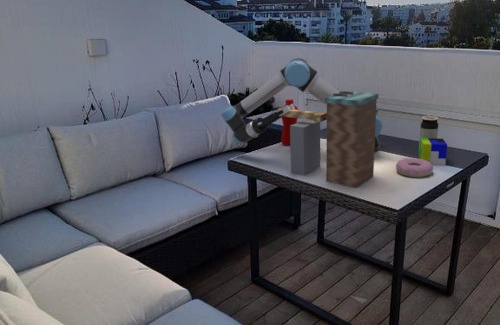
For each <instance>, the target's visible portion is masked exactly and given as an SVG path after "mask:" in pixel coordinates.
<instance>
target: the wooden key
mask: <svg viewBox="0 0 500 325" xmlns="http://www.w3.org/2000/svg"><path fill="white" fill-rule="evenodd" d="M282 108H283V107H279V108H276V112H277V111H278V110H280V109H282ZM282 116H285V117H292V118H297V119H302V120H307V119H308V120H314V122H320V123H322V122H324V121H327V111H320V112H317V111H310V110H301V109H298V110H294V109H290V111H289V112H287V113H285V114H284V115H282Z"/></svg>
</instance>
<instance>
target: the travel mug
mask: <svg viewBox="0 0 500 325" xmlns="http://www.w3.org/2000/svg"><path fill="white" fill-rule="evenodd" d="M421 119H422V121H421V123H420V128H419V129H420V130H419V139H420V138H438V136H439V135H438V132H439V123H438V120H439V117H437V116H433V115H424V116H421ZM418 144H419V145H418V148H419V147H420V140H419V143H418Z"/></svg>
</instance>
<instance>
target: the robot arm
mask: <svg viewBox="0 0 500 325" xmlns="http://www.w3.org/2000/svg"><path fill="white" fill-rule="evenodd" d="M287 87H293V88H296V89H298V90H299V91H301V93H306V92H307V93H309V94H310V95H312V96H313V97H315V98H316V99H317V100H319V101H320V102H322V103H323V104H324V105H326V106H327V103H325V98H326V97H329V96H332V95H333V93H339V91H340V90H337V89H336V88H335V87H334V86H332V85H331V84H330V83H328V82H327V81H326V80H324V79H322V78H321V77H320V76H319V72H318V71H317V70H316V69H314V67H311V66H310V65H309V63H308V61H307V60H305V59H303V58H300V57H299V58H294V59H292V60H290V61H289V63H288V64H286V65H285V66H284V67H283V68H281V70H279V73H278V74H277V75H275V76H274V77H273V78H272V79H270V80H268V81H267V82H266V83H265V84H263V85H262V86H260V87H259V88H257V89H256V90H255V91H254V92H252V93H250V94H249V95H248V96H246V97H245V98H244V99H242V100H241V101H240V102H238V103H236V104H235V105H230V106H228V107H227V108H226V109H224V110H223V111H222V112H221V113H220V116H221V117H222V118H223V120H224V122H226V124H227V125H228V127H229V128H230V130H231V131H232V140H233V141H234V143H236V144H238V145H242V144H245V143H247V142H249V141H251V140H253V139H254V138H258V137H259V135H260V134H263V133H264V132H266V131H267V130H268V126H270V125H272V124H273V123H275V122H277V121H278V120H280V119H282V117H283V116H282V115H284V114H285V113H287V112H289V111H290V109H295V108H294V106H293V105H294V103H293V104H291V105H289V106H288V105H287V106H285V105H284V106H285V107H284V106H283V107H284V108H283V107H281V108H282V109H280V110H278V111H277V110H276V111H274V112H273V113H272V112H271V114H269V115H267V116H265V117H261V116H260V117H256V118H255V119H253V120H252V121H250V122H248V123H247V124H246V122H245V120H244V119H243V118H244V117H247V115H249V114H251V112H253V111H254V110H256V109H257V108H259V107H260V106H261V105H263V104H264V103H267V101H268V100H270V99H272V98H273V97H274V96H276V95H277V94H278V93H280V92H282V91H283V90H284V89H286V88H287ZM378 112H379V107H378V105H376V126H375V149H374V153H376V152H378V151H380V141H379V138H378V136H379V135H380V134H381V132H382V130H383V121H382V119H381V117H380V116H379V115H378Z"/></svg>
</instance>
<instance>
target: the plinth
mask: <svg viewBox="0 0 500 325" xmlns="http://www.w3.org/2000/svg"><path fill="white" fill-rule="evenodd" d="M320 167H321V122H314V120H308V119H303V120H302V121H299V122H297V123H296V124H293V125H290V173H292V174H295V175H296V174H297V175H300V176H305V175H307V174H310V173H311V172H313V171H315V170H316V169H318V168H320Z"/></svg>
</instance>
